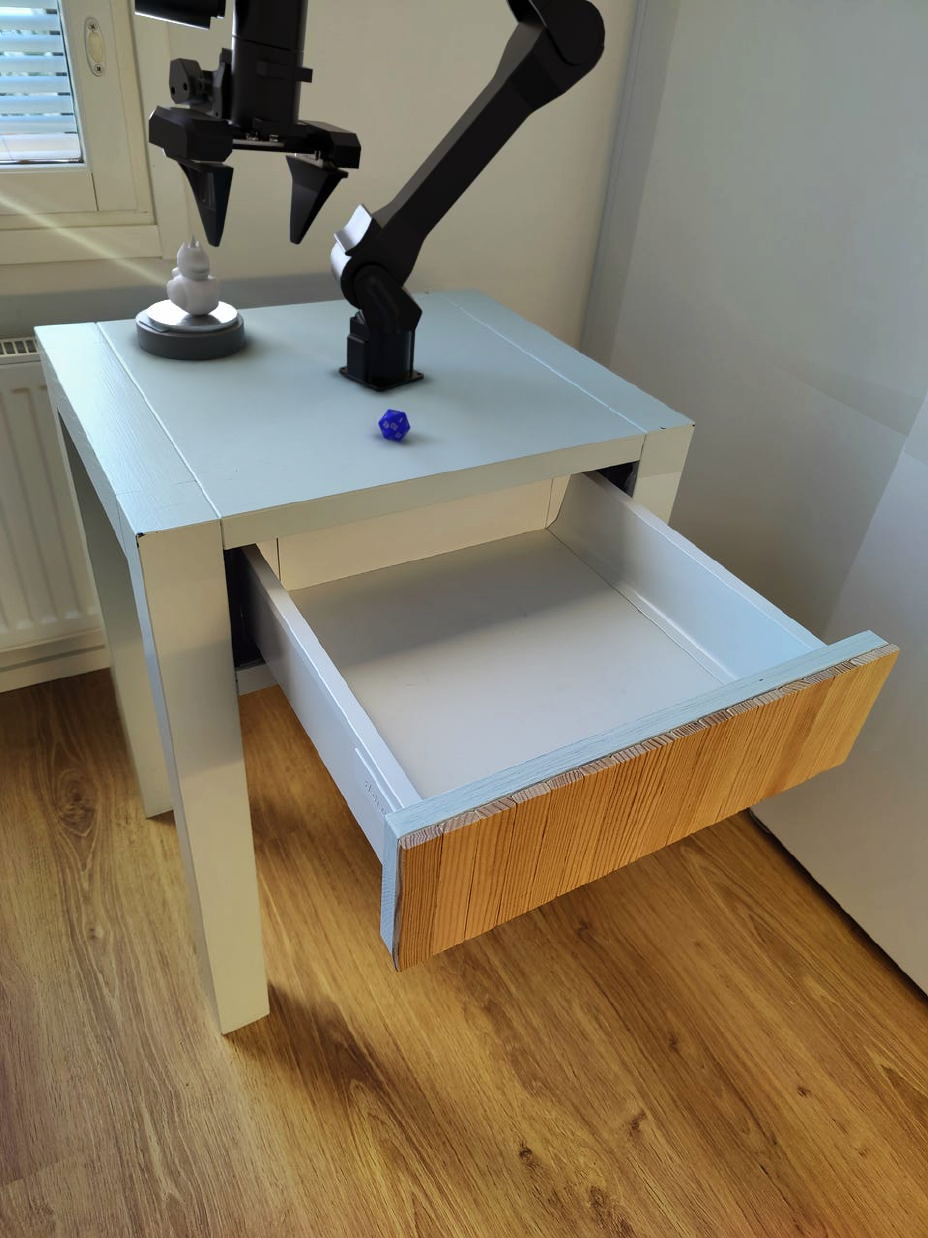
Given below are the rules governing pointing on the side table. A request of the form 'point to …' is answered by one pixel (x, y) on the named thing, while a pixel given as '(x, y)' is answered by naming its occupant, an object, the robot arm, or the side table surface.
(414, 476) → the side table surface
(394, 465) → the side table surface
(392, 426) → the die
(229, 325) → the scale
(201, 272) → the rubber duck
